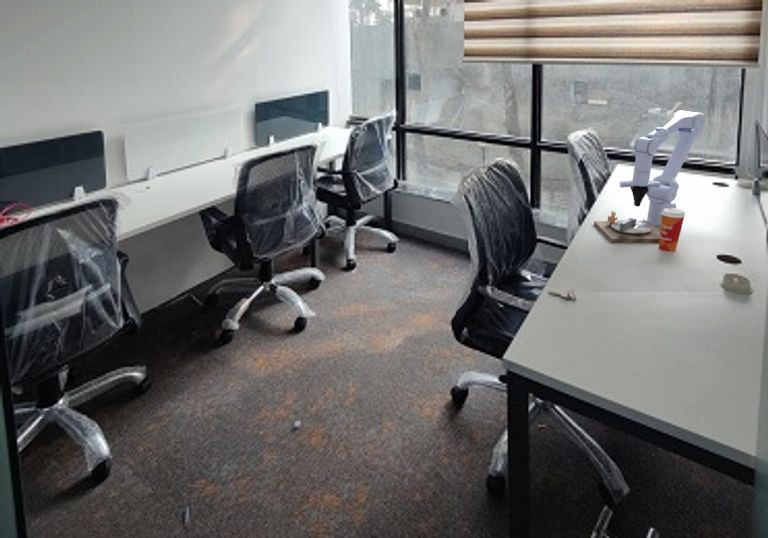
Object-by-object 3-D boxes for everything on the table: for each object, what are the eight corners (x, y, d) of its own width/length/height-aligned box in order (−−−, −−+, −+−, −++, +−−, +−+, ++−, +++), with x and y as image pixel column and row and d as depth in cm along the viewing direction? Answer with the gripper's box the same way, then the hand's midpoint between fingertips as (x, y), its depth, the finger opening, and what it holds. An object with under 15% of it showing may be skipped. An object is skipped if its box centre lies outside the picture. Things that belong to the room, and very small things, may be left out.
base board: (647, 224, 242) (647, 221, 242) (669, 242, 223) (670, 238, 222) (593, 224, 243) (594, 221, 242) (611, 242, 223) (611, 238, 223)
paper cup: (651, 245, 220) (657, 207, 215) (671, 244, 221) (678, 207, 215) (662, 253, 213) (669, 214, 208) (683, 252, 213) (690, 213, 208)
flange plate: (656, 227, 232) (658, 217, 231) (640, 237, 222) (641, 227, 220) (615, 219, 242) (617, 209, 241) (597, 228, 232) (599, 218, 230)
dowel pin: (613, 223, 239) (615, 211, 237) (614, 224, 238) (616, 212, 236) (609, 223, 239) (610, 211, 237) (610, 224, 238) (612, 212, 236)
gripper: (626, 172, 225) (621, 208, 230) (666, 172, 225) (660, 208, 230) (619, 168, 232) (615, 203, 237) (658, 168, 231) (652, 203, 236)
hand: (636, 205), depth 234 cm, fingers closed
